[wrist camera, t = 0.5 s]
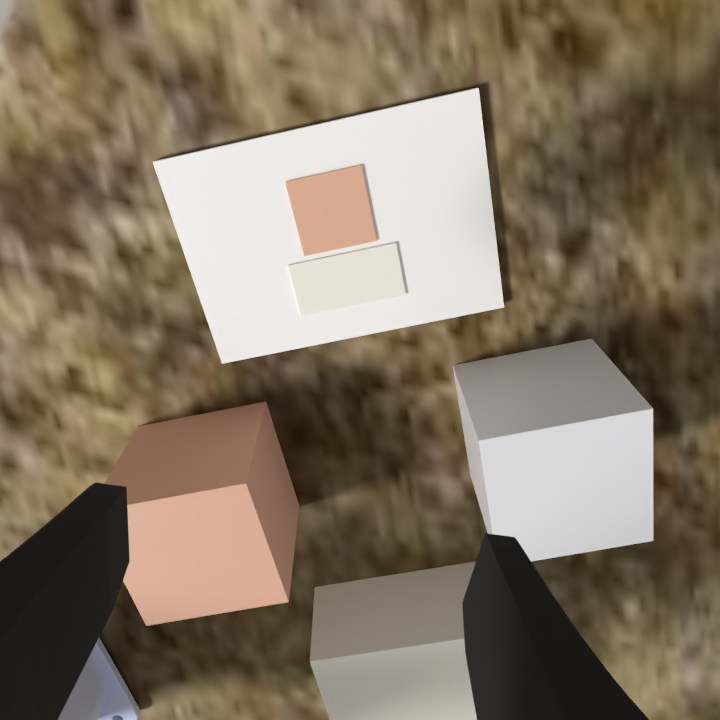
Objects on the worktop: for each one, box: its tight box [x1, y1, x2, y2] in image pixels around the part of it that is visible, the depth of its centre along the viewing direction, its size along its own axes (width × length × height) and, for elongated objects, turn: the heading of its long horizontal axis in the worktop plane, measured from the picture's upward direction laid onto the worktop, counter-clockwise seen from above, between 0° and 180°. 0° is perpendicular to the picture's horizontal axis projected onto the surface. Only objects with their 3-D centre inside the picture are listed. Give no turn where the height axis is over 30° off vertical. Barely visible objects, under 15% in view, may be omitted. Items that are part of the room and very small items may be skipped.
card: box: [153, 88, 504, 364], centre depth 20 cm, size 10×7×1 cm
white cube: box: [453, 339, 653, 561], centre depth 21 cm, size 5×5×5 cm
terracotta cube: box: [105, 402, 299, 626], centre depth 22 cm, size 5×5×5 cm
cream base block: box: [310, 561, 477, 720], centre depth 27 cm, size 8×8×4 cm
